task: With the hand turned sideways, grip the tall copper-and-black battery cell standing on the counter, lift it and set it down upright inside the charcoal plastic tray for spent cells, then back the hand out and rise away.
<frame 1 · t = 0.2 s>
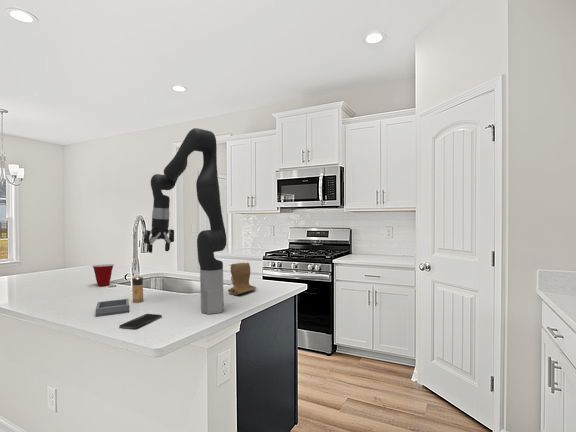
hand: (158, 251, 163), 22 cm above the table, tool pointing down, fingers open, 8 cm apart
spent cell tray: (113, 310, 145), on the table
battery cell: (138, 301, 159), on the table
brown boot: (240, 292, 174), on the table
onion: (238, 284, 194), on the table
phone: (141, 323, 129), on the table
plastic cup: (103, 285, 195), on the table
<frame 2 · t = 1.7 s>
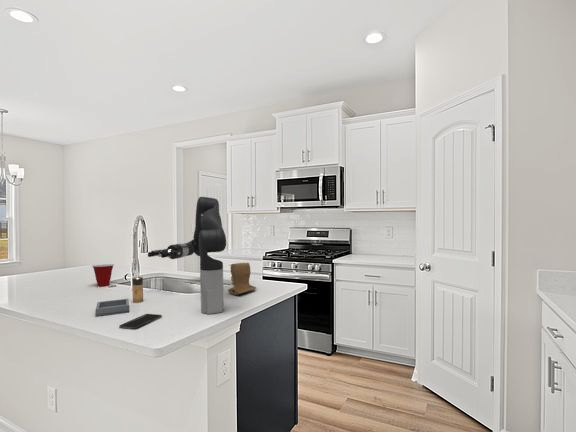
hand: (155, 255, 169), 20 cm above the table, tool horizontal, fingers open, 8 cm apart
nothing on the table moved.
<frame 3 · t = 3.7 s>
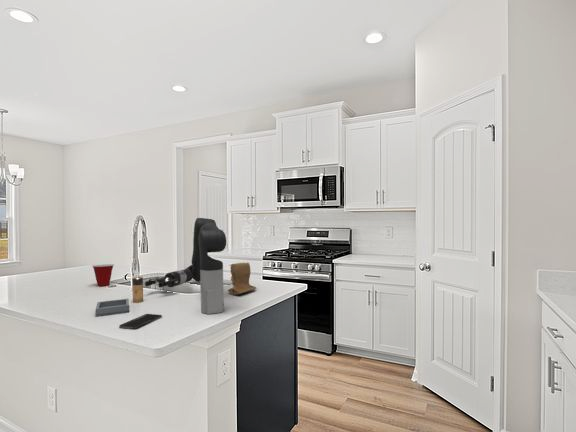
hand: (152, 284, 167), 6 cm above the table, tool horizontal, fingers open, 8 cm apart
nothing on the table moved.
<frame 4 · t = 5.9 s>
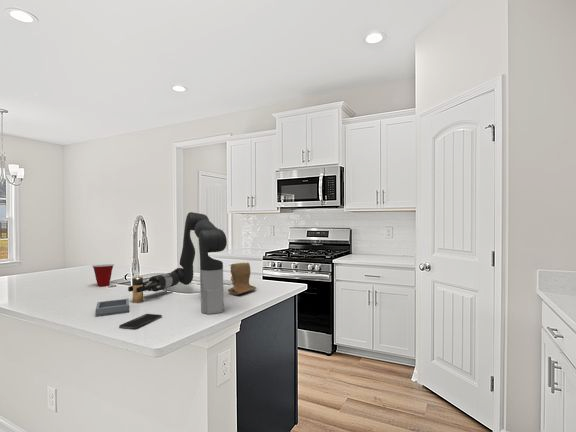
hand: (133, 289, 157), 6 cm above the table, tool horizontal, fingers closed on battery cell, 4 cm apart
battery cell: (138, 301, 159), on the table, touching gripper
everything else where it was.
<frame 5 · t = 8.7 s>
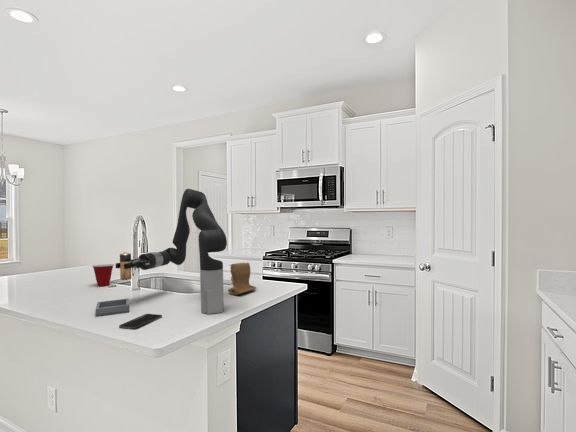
hand: (120, 266, 149), 18 cm above the table, tool horizontal, fingers closed on battery cell, 4 cm apart
battery cell: (126, 278, 152), point 12 cm above the table, touching gripper
everything else where it was.
when the fingers open (8 cm above the table, at t = 11.5 s): battery cell drops 1 cm, resting on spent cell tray.
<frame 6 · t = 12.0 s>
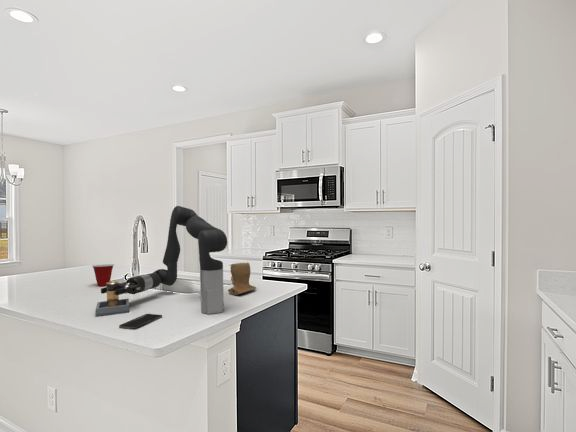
hand: (108, 291, 143), 8 cm above the table, tool horizontal, fingers open, 8 cm apart
battery cell: (113, 308, 145), point 1 cm above the table, touching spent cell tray
everything else where it was.
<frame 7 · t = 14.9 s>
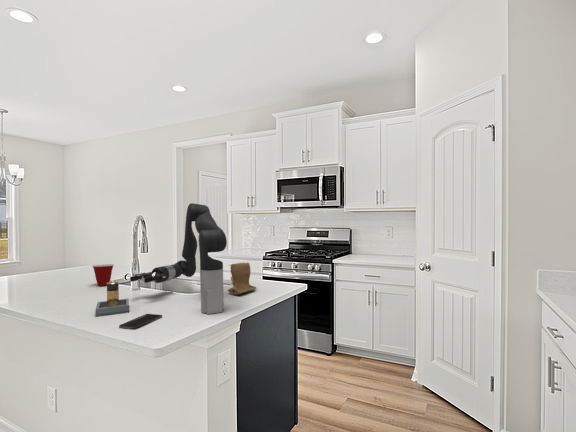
hand: (137, 279, 156), 11 cm above the table, tool horizontal, fingers open, 8 cm apart
nothing on the table moved.
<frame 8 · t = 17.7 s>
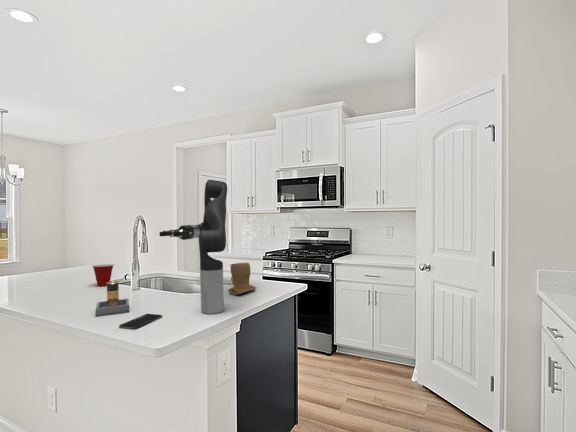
hand: (166, 234, 168), 30 cm above the table, tool horizontal, fingers open, 8 cm apart
nothing on the table moved.
at the end: battery cell inside the target area on the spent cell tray (0.1 cm from its centre), point 0.8 cm above the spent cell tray's base; battery cell tilted 0°; the gripper is holding nothing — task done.
